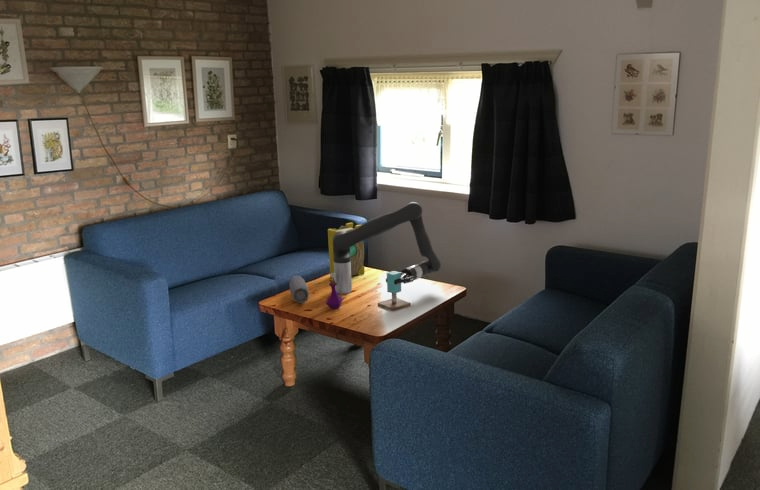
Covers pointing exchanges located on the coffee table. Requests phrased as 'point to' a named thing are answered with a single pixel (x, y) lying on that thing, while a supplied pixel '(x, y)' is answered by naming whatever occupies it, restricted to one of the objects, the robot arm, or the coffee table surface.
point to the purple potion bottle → (333, 295)
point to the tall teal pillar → (390, 282)
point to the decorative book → (355, 250)
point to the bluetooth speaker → (298, 289)
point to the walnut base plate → (394, 303)
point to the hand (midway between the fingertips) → (390, 281)
